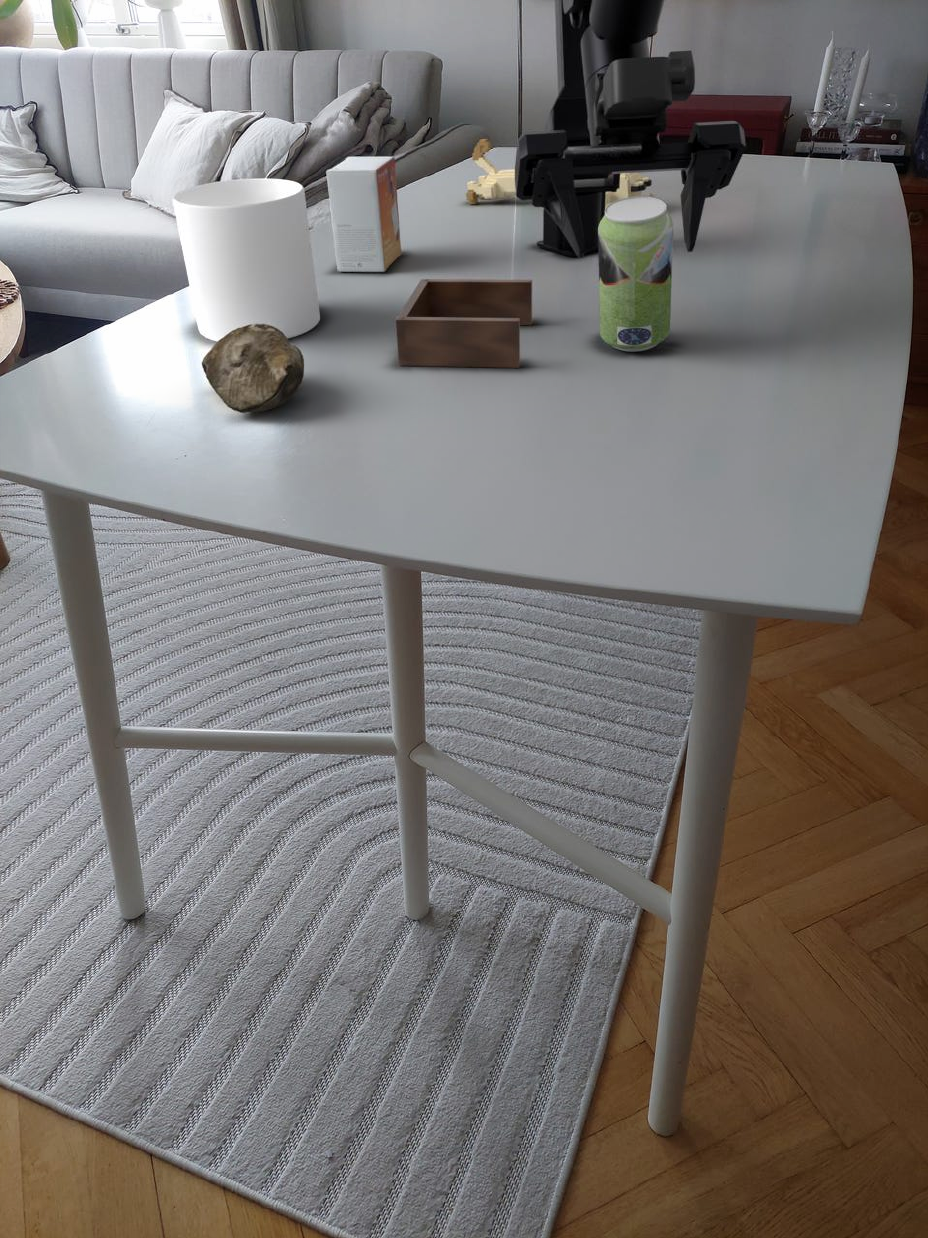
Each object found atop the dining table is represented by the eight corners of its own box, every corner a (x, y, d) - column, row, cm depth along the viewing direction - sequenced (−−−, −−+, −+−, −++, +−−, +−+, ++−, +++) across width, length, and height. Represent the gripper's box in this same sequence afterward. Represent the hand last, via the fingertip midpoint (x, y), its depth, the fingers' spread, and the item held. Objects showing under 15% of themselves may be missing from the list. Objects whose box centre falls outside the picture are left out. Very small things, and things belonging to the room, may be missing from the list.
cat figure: (461, 217, 130) (640, 214, 120) (453, 146, 125) (639, 136, 115) (492, 201, 137) (663, 196, 127) (485, 133, 132) (663, 122, 122)
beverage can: (673, 334, 86) (686, 191, 79) (659, 363, 81) (671, 212, 74) (604, 329, 88) (611, 189, 81) (586, 357, 83) (591, 209, 76)
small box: (384, 273, 106) (376, 169, 100) (336, 272, 107) (324, 169, 101) (403, 253, 112) (396, 155, 106) (357, 252, 113) (347, 155, 107)
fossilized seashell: (314, 387, 73) (319, 362, 82) (257, 313, 70) (269, 296, 79) (237, 445, 74) (250, 414, 83) (178, 374, 72) (198, 350, 81)
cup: (217, 353, 87) (190, 213, 80) (185, 318, 96) (158, 189, 89) (338, 329, 91) (322, 194, 84) (297, 297, 100) (280, 172, 93)
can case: (532, 322, 91) (532, 279, 88) (519, 367, 81) (518, 320, 79) (423, 321, 92) (421, 278, 90) (399, 365, 83) (395, 319, 81)
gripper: (516, 17, 75) (533, 200, 72) (754, 5, 75) (779, 186, 72) (508, 116, 86) (522, 277, 83) (716, 105, 86) (736, 265, 83)
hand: (636, 252), depth 80 cm, fingers open, 9 cm apart
